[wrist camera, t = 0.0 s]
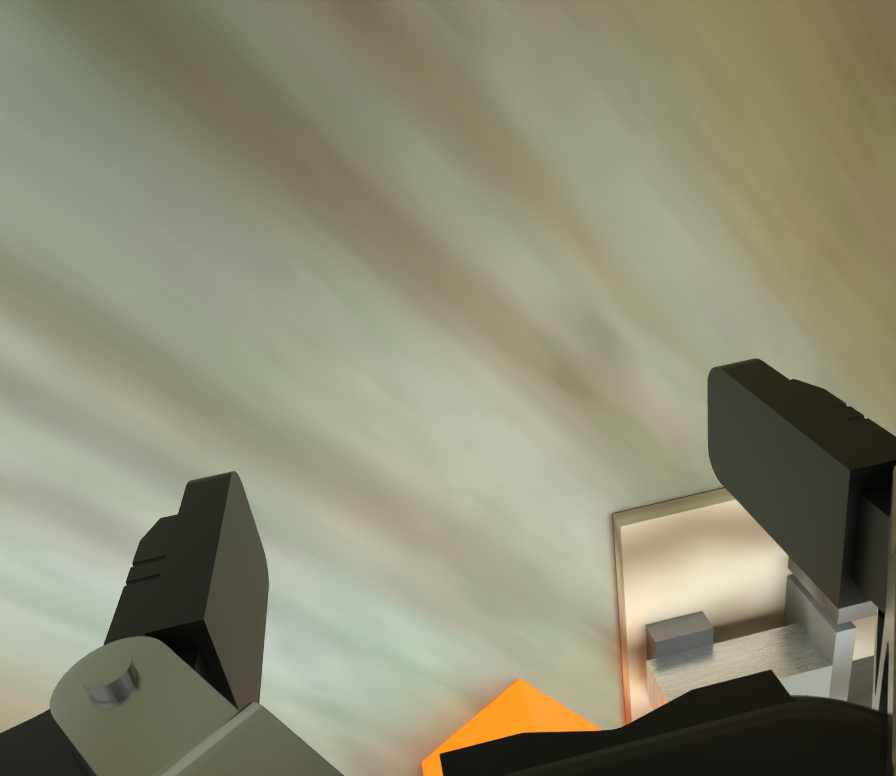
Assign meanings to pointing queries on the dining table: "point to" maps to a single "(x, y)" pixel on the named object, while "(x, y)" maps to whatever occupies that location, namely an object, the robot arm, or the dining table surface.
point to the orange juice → (510, 721)
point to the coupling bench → (726, 590)
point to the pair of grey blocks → (729, 658)
